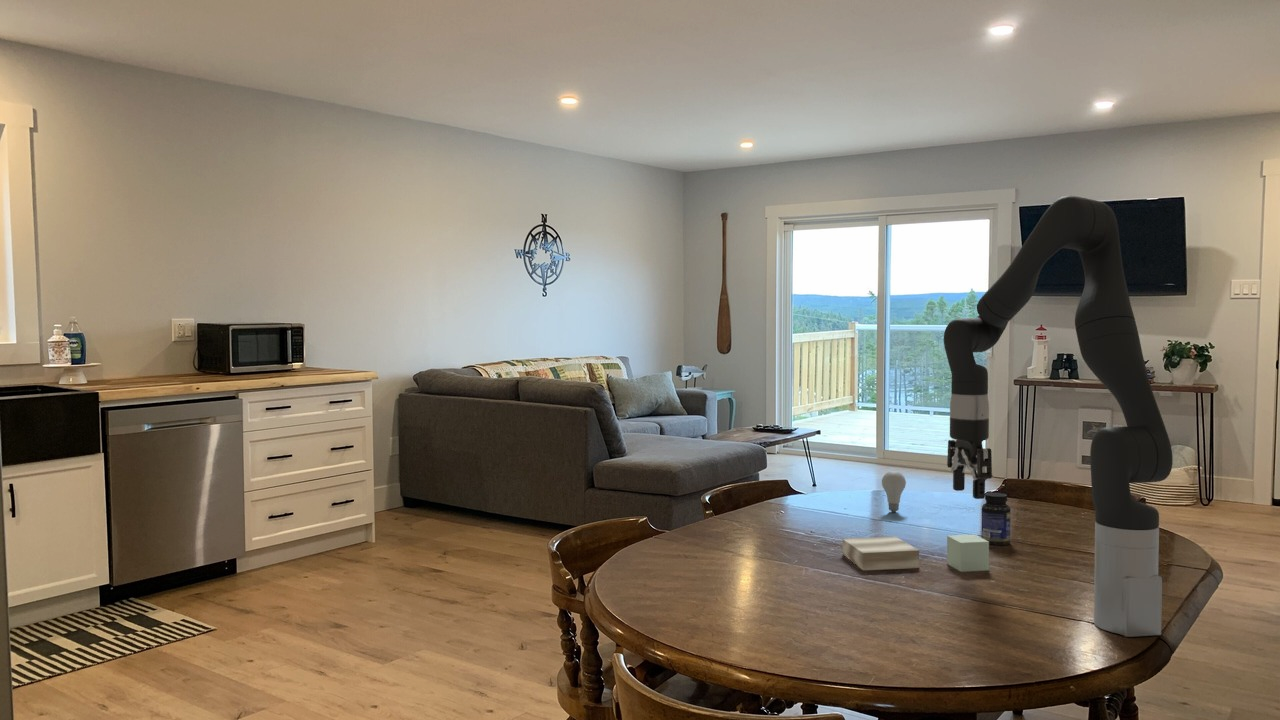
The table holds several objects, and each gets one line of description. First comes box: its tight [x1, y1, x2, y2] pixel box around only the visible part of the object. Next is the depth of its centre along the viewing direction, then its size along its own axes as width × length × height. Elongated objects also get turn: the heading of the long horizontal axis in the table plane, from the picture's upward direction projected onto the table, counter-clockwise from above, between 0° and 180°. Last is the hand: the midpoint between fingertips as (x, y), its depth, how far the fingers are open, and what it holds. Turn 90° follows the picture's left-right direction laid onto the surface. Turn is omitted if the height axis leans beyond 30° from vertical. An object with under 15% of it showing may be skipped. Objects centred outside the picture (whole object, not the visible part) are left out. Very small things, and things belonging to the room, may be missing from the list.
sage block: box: [946, 534, 990, 573], centre depth 184 cm, size 6×6×6 cm
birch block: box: [842, 536, 920, 571], centre depth 189 cm, size 12×12×4 cm
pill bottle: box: [981, 492, 1011, 546], centre depth 204 cm, size 6×6×11 cm
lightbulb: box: [881, 470, 907, 513], centre depth 237 cm, size 6×6×11 cm
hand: (968, 494), depth 184 cm, fingers open, 8 cm apart
